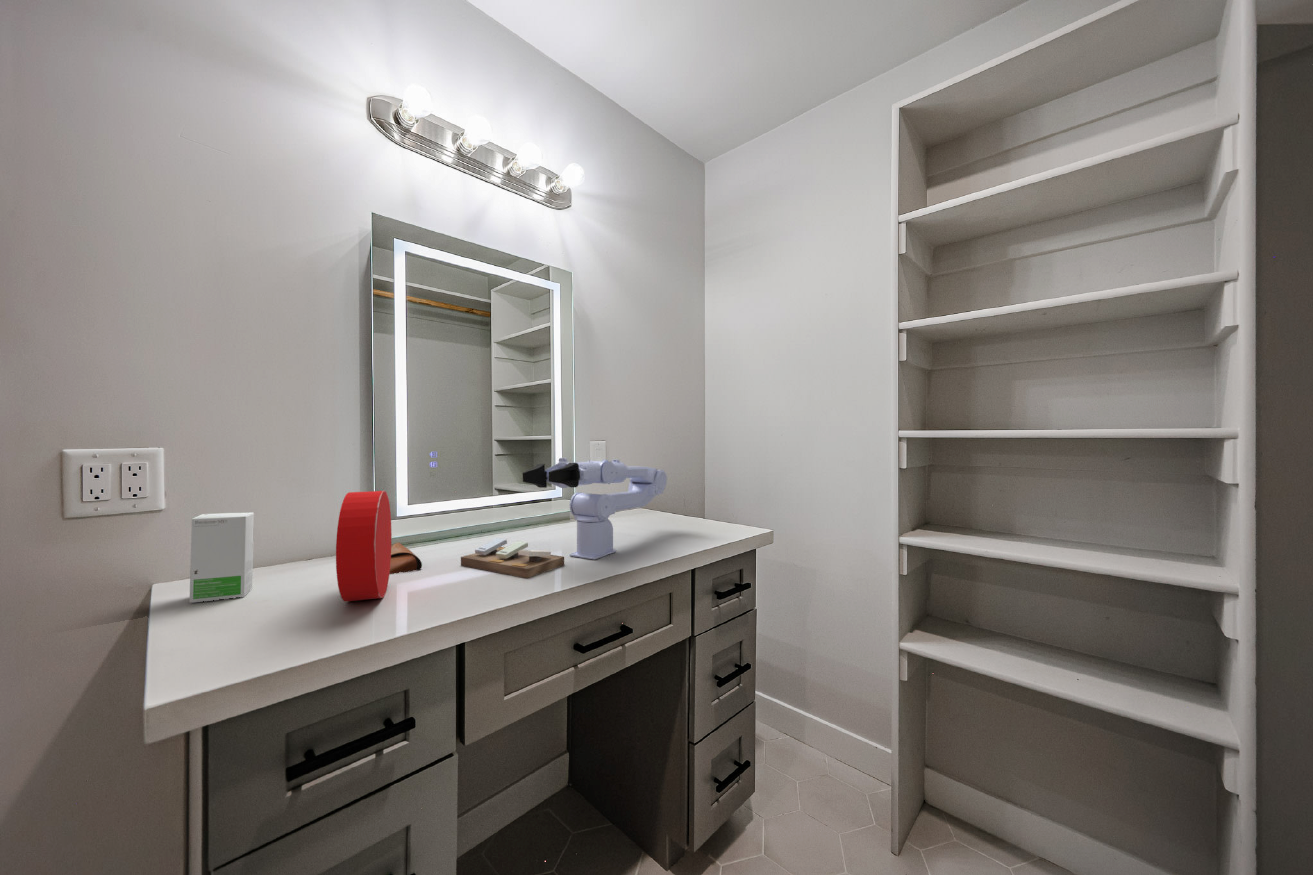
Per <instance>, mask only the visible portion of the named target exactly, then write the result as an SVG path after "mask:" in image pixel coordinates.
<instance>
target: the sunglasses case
mask: <svg viewBox="0 0 1313 875" xmlns="http://www.w3.org/2000/svg"><path fill="white" fill-rule="evenodd" d="M422 567H423V564H422V561H421V559H420V558H419V556H417V555H416V554H415V553H414V552H412V551H411V549H409V548H407V547H406V546H404V545H403V544H402V543H401V542H399V541H398V542H396V543H394V544H393V545H392V544H391V563H390V573H389V575H395V574H394V573H396V574H400V573H399V572H403V573H409V572H414V571H413V570H416V571H421V570H422ZM408 571H409V572H408Z"/></svg>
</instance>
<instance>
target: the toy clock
mask: <svg viewBox="0 0 1313 875" xmlns="http://www.w3.org/2000/svg"><path fill="white" fill-rule="evenodd" d="M341 503H342V504H341V506H340V510H339V515H338V522H337V529H336V540H335V543H336V544H335V571H336V580H337V587H338V592H339V595H340V597H341V599H342V601H344V602H345V603H346V602H353V601H354V602H356V601H364V600H373V599H383V598H384V597H385V596H386V593H387V590H388V586H389V579H390V574H389V573H390V563H391V546H392V514H391V504H390V498H389V495H388V493H387V491H386V490H377V491H376V490H374V491H373V490H372V491H354V492H352V491H349V492H347V493H346V494H345V496H344V498H343V500H342V502H341Z"/></svg>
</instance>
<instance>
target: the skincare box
mask: <svg viewBox="0 0 1313 875" xmlns="http://www.w3.org/2000/svg"><path fill="white" fill-rule="evenodd" d="M254 520H255V512H221V513H202V514H200V515H198V516H195V517H193V518H191V534H190V536H191V537H190V539H191V540H190V541H191V542H190V566H189V567H190V568H189V570H190V574H189V603H191V604H194V603H202V602H203V601H204V602H213V600H214V601H220V600H219V599H224V600H230V599H229V598H233V599H235V598H234V597H244V596H245V595H246V594H249V593H250V591H251V590H252V589H253V569H254V566H253V564H254V563H253V562H254V531H255V530H254V529H255V528H254V525H255V521H254ZM251 588H252V589H251ZM250 589H251V590H250ZM249 590H250V591H249ZM246 596H247V595H246ZM246 596H245V597H246ZM245 597H244V598H245Z"/></svg>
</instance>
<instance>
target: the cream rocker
mask: <svg viewBox="0 0 1313 875" xmlns="http://www.w3.org/2000/svg"><path fill="white" fill-rule="evenodd" d="M518 555H524V556H550V555H552V551H548V550H542V549H541V550H540V549H523V550H519V554H518Z"/></svg>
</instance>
